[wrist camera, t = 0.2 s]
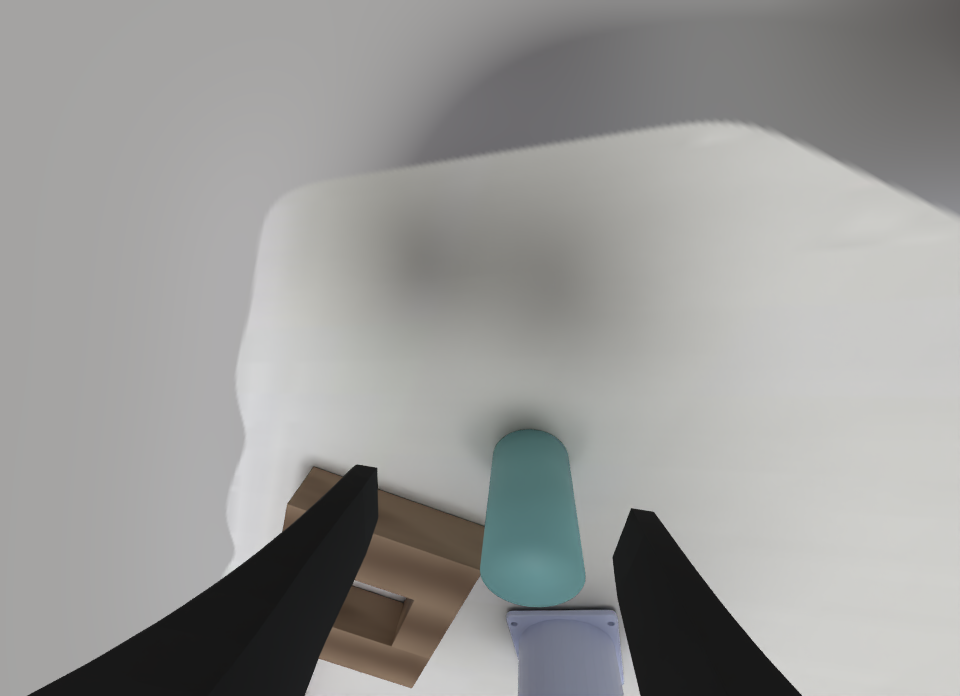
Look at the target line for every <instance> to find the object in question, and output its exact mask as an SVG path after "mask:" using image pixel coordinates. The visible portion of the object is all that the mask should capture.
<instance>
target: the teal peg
mask: <svg viewBox="0 0 960 696" xmlns="http://www.w3.org/2000/svg"><path fill="white" fill-rule="evenodd" d="M480 574H481V578H482V580H483V582H484V583H485V585H486V586H487V587H488V589H489V590H491V591H492V592H493V593H494V594H495V595H497V596H498V597H500V598H502V599H504V600H506V601H508V602H511V603H514V604H518V605H522V606H528V607H548V606H554V605H558V604H561V603H564V602H566V601H568V600H570V599H572V598H573V597H575V596H576V595H577V594H578V593H579V592H580V591H581V589H582V588H583V586H584V583H585V568H584V561H583V554H582V548H581V541H580V534H579V527H578V520H577V513H576V506H575V499H574V492H573V485H572V478H571V471H570V464H569V457H568V453H567V450H566V448H565V447H564V445H563V444H562V443H561V442H560V441H559V440H558V439H557V438H556V437H554V436H553V435H551V434H549V433H546V432H543V431H540V430H532V429H527V430H519V431H515V432H512V433H510V434H508V435H506V436H505V437H504V438H502V439H501V440H500V441H499V442H498V444H497V445H496V447H495V449H494V453H493V460H492V468H491V477H490V486H489V495H488V503H487V512H486V521H485V529H484V538H483V547H482V555H481V564H480Z"/></svg>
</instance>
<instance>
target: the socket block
mask: <svg viewBox="0 0 960 696" xmlns="http://www.w3.org/2000/svg"><path fill="white" fill-rule="evenodd" d="M341 478H342V477H341V476H338V475H336V474H333V473H330V472H327V471H324V470H321V469H319V468H316V467H313V468H312V470H311V471H310V473H309V474H308V475H307V477H306V478H305V480H304V481H303V483H302V484H301V485H300V487H299V488H298V490H297V491H296V492H295V494H294V495H293V497H292V498H291V500H290V501H289V502H288V504H287V509H286V514H285V520H284V525H283V531H284V530H285V529H287V528H288V527H289V526H290V525H291V524H292V523H294V522H295V521H296V520H297V519H298V518H299V517H300V516H301V515H303V514H304V513H305V512H306V511H307V510H308V509H309V508H310V507H311V506H313V505H314V504H315V503H316V502H317V501H318V500H319V499H320V498H321V497H322V496H323V495H325V494H326V493H327V492H328V491H329V490H330V489H331V488H332V487H333V486H334V485H335V484H336V483H337V482H338V481H339V480H340V479H341ZM484 529H485V527H484V526H481V525H478V524H475V523H472V522H470V521H467V520H464V519H461V518H458V517H455V516H452V515H450V514H447V513H444V512H441V511H438V510H435V509H432V508H430V507H427V506H424V505H421V504H418V503H415V502H413V501H410V500H407V499H404V498H401V497H398V496H395V495H393V494H390V493H387V492H384V491H381V490H378V521H377V524H376V527H375V530H374V533H373V536H372V539H371V542H370V545H369V547H368V550H367V553H366V556H365V558H364V560H363V562H362V564H361V567H360V569H359V571H358V573H357V575H356V578H355V580H356V581H359V582H362V583H365V584H368V585H371V586H374V587H377V588H380V589H383V590H386V591H389V592H392V593H395V594H398V595H401V596H404V597H406V599H405V601H404V603H402V602H399V601H396V600H393V599H390V598H387V597H384V596H381V595H378V594H375V593H372V592H369V591H366V590H363V589H360V588H357V587H354V586H351V588H350V590H349V593H348V595H347V597H346V599H345V601H344V603H343V605H342V608H341V610H340V612H339V614H338V616H337V618H336V621H335V623H334V625H333V627H332V629H331V631H330V633H329V636H328V638H327V640H326V642H325V645H324V647H323V649H322V652H321V654H320V656H319V659H322V660H325V661H328V662H331V663H334V664H337V665H341V666H344V667H347V668H350V669H353V670H356V671H359V672H362V673H365V674H369V675H372V676H375V677H378V678H381V679H384V680H387V681H390V682H393V683H397V684H400V685H403V686H406V687H409V688H412V687H413V686H414V684H415V682H416V681H417V679H418V677H419V676H420V674H421V672H422V671H423V669H424V667H425V666H426V664H427V662H428V661H429V659H430V658H431V656H432V654H433V653H434V651H435V649H436V648H437V646H438V644H439V643H440V641H441V639H442V638H443V636H444V634H445V633H446V631H447V629H448V628H449V626H450V624H451V623H452V621H453V619H454V618H455V616H456V614H457V613H458V611H459V610H460V608H461V606H462V605H463V603H464V601H465V600H466V598H467V596H468V595H469V593H470V591H471V590H472V588H473V586H474V585H475V583H476V581H477V580H478V578H479V576H480V575H481V574H480V564H481V555H482V547H483V538H484ZM283 531H282V532H283Z"/></svg>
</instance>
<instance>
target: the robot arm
mask: <svg viewBox="0 0 960 696" xmlns="http://www.w3.org/2000/svg"><path fill="white" fill-rule="evenodd" d="M377 521H378V480H377V468H375V467H369V466H363V465H355V466H354V467H353V468H351V469H350V470H349V471H348V472H347V473H346V474H345V475H344V476H343V477H342V478H341V479H340V480H339V481H338V482H337V483H336V484H335V485H334V486H333V487H332V488H331V489H330V490H329V491H328V492H327V493H326V494H325V495H323V496H322V497H321V498H320V499H319V500H318V501H317V502H316V503H315V504H314V505H313V506H311V507H310V508H309V509H308V510H307V511H306V512H305V513H304V514H303V515H301V516H300V517H299V518H298V519H297V520H296V521H295V522H294V523H292V524H291V525H290V526H289V527H288V528H287V529H285V530H284V531H283V532H282V533H280V534H279V535H278V536H277V537H276V538H274V539H273V540H272V541H271V542H270V543H268V544H267V545H266V546H265V547H263V548H262V549H261V550H260V551H259V552H257V553H256V554H255V555H253V556H252V557H251V558H249V559H248V560H247V561H246V562H244V563H243V564H242V565H240V566H239V567H238V568H236V569H235V570H234V571H232V572H231V573H229V574H228V575H227V576H225V577H224V578H222V579H221V580H220V581H218V582H217V583H216V584H214V585H213V586H211V587H210V588H208V589H207V590H205V591H204V592H203V593H201V594H199V595H198V596H196V597H195V598H193V599H192V600H190V601H189V602H188V603H186V604H185V605H183V606H182V607H180V608H179V609H177V610H176V611H174V612H172V613H171V614H169V615H168V616H166V617H165V618H163V619H161V620H160V621H158V622H157V623H155V624H153V625H152V626H150V627H148V628H147V629H145V630H143V631H142V632H140V633H138V634H136V635H135V636H133V637H131V638H130V639H128V640H127V641H125V642H123V643H122V644H120V645H118V646H116V647H115V648H113V649H112V650H110V651H108V652H106V653H105V654H103V655H102V656H100V657H98V658H96V659H95V660H92V661H91V662H89V663H87V664H85V665H84V666H82V667H80V668H78V669H76V670H75V671H73V672H71V673H69V674H67V675H65V676H63V677H61V678H59V679H58V680H56V681H54V682H52V683H50V684H48V685H46V686H45V687H43V688H41V689H39V690H37V691H35V692H33V693H31V694H30V695H28V696H305V693H306V690H307V688H308V685H309V682H310V680H311V677H312V674H313V672H314V669H315V666H316V664H317V661H318V659H319V656H320V654H321V652H322V649H323V647H324V645H325V642H326V640H327V638H328V636H329V633H330V631H331V629H332V627H333V625H334V623H335V621H336V618H337V616H338V614H339V612H340V610H341V608H342V605H343V603H344V601H345V599H346V597H347V595H348V593H349V590H350V588H351V586H352V584H353V582H354V580H355V578H356V575H357V573H358V571H359V569H360V567H361V564H362V562H363V560H364V558H365V556H366V553H367V550H368V547H369V545H370V542H371V539H372V536H373V533H374V530H375V527H376V524H377ZM613 565H614V574H615V582H616V590H617V597H618V602H619V606H620V611H621V615H622V619H623V624H624V628H625V632H626V636H627V641H628V645H629V649H630V653H631V657H632V662H633V666H634V670H635V674H636V678H637V683H638V687H639V691H640V695H641V696H802V695H801V694H800V693H799V692H798V691H797V690H796V689H795V687H794V686H793V685H792V684H791V683H790V682H789V681H788V680H787V679H786V678H785V677H784V675H783V674H782V673H781V672H780V671H779V670H778V669H777V668H776V667H775V666H774V665H773V663H772V662H771V661H770V660H769V659H768V658H767V657H766V656H765V654H764V653H763V652H762V651H761V650H760V649H759V648H758V646H757V645H756V644H755V643H754V642H753V641H752V639H751V638H750V637H749V636H748V635H747V633H746V632H745V631H744V630H743V629H742V627H741V626H740V625H739V624H738V623H737V621H736V620H735V619H734V618H733V617H732V615H731V614H730V613H729V612H728V610H727V609H726V608H725V607H724V605H723V604H722V603H721V602H720V600H719V599H718V598H717V596H716V595H715V594H714V593H713V591H712V590H711V589H710V587H709V586H708V585H707V583H706V582H705V581H704V580H703V578H702V577H701V576H700V574H699V573H698V572H697V570H696V569H695V568H694V566H693V565H692V564H691V562H690V561H689V560H688V558H687V557H686V555H685V554H684V553H683V551H682V550H681V549H680V547H679V546H678V545H677V543H676V542H675V540H674V539H673V538H672V536H671V535H670V533H669V532H668V531H667V529H666V528H665V527H664V525H663V524H662V522H661V521H660V520H659V518H658V517H657V516H656V514H655V513H654V512H651V511H645V510H639V509H633V508H631V510H630V513H629V516H628V518H627V521H626V523H625V526H624V529H623V531H622V534H621V536H620V539H619V542H618V544H617V547H616V550H615V552H614V555H613ZM506 620H507V623H508V626H509V630H510V633H511V637H512V640H513V643H514V647H515V650H516V654H517V657H518V660H519V663H518V696H624V693H623V688H622V685H623V684H624V678H623V668H622V657H621V647H620V637H619V626H618V617H617V613H616V612H615V611H613V610H538V611H509V612H508V613H507V618H506Z"/></svg>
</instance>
